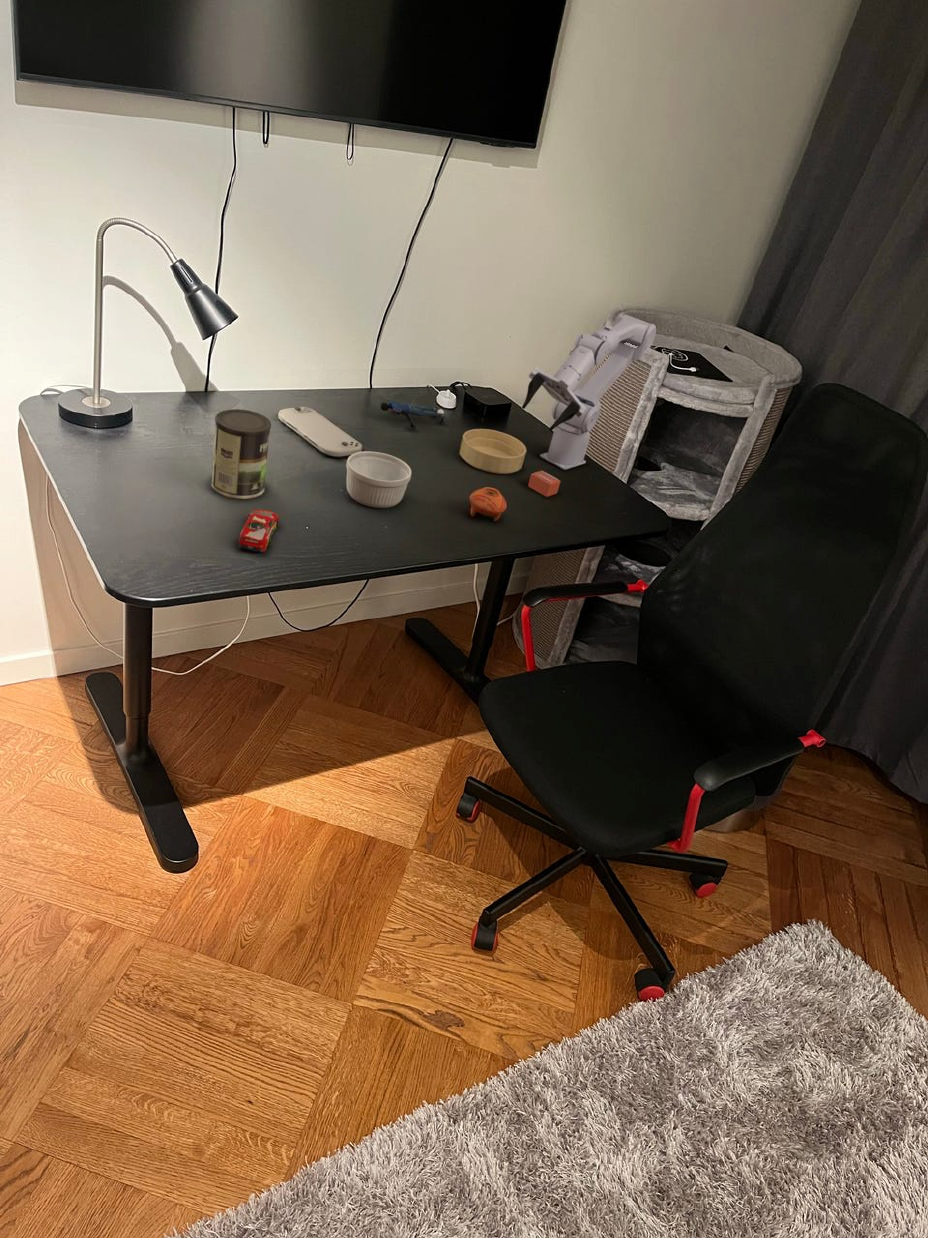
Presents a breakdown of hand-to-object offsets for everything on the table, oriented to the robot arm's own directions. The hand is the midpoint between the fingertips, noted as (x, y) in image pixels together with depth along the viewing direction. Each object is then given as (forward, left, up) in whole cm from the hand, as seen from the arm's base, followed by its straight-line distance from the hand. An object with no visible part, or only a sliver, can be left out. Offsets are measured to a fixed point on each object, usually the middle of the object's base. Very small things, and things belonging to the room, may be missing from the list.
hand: (537, 417), depth 199 cm
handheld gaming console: (+28, -38, -16) cm, 50 cm away
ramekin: (+36, -11, -16) cm, 41 cm away
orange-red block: (-3, +4, -16) cm, 17 cm away
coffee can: (+59, -26, -16) cm, 66 cm away
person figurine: (0, -36, -16) cm, 39 cm away
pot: (+20, +6, -16) cm, 27 cm away
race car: (+67, -9, -16) cm, 70 cm away
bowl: (-3, -12, -16) cm, 20 cm away
